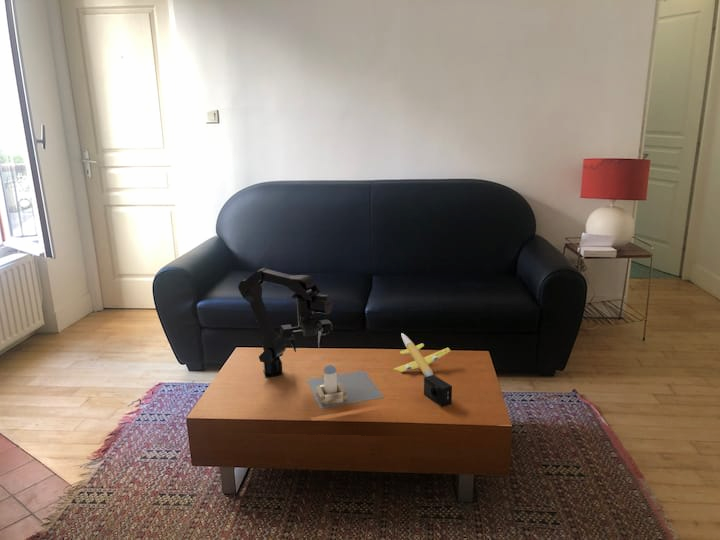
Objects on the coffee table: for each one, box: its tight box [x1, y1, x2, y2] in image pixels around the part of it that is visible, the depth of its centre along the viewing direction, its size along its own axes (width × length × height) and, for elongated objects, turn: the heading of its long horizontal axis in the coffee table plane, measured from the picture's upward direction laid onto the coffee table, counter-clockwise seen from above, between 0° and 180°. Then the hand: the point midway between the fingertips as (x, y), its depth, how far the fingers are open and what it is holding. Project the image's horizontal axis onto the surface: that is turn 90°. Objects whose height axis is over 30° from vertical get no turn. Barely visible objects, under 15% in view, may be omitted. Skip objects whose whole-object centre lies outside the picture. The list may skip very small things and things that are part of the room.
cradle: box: [316, 383, 347, 405], centre depth 189 cm, size 9×9×3 cm
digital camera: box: [423, 374, 453, 408], centre depth 187 cm, size 10×5×7 cm, turn 30°
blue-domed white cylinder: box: [323, 364, 338, 395], centre depth 188 cm, size 4×4×12 cm
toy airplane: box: [393, 332, 451, 377], centre depth 216 cm, size 26×7×30 cm
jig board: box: [305, 370, 385, 410], centre depth 196 cm, size 23×23×1 cm
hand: (307, 349), depth 201 cm, fingers open, 9 cm apart
